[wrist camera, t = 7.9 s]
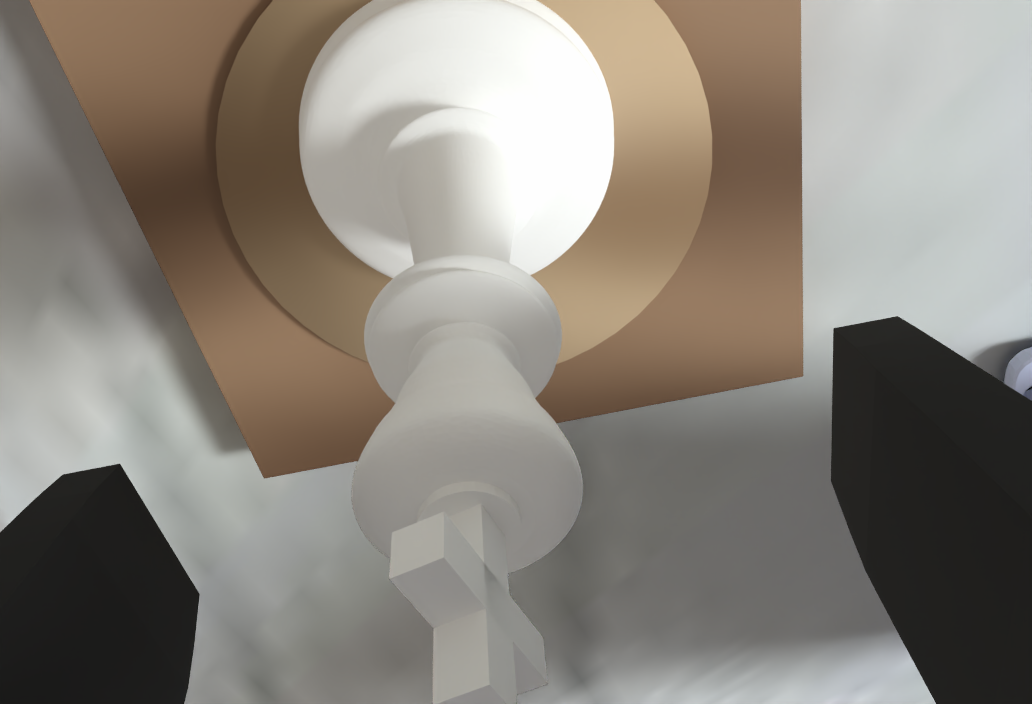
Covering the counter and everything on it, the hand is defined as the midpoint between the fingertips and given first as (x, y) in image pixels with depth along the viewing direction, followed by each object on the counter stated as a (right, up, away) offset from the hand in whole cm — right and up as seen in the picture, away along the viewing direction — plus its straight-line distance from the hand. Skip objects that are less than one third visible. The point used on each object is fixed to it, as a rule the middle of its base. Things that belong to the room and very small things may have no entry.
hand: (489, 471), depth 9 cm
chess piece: (-1, +5, +5) cm, 7 cm away
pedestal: (-1, +5, +6) cm, 8 cm away
